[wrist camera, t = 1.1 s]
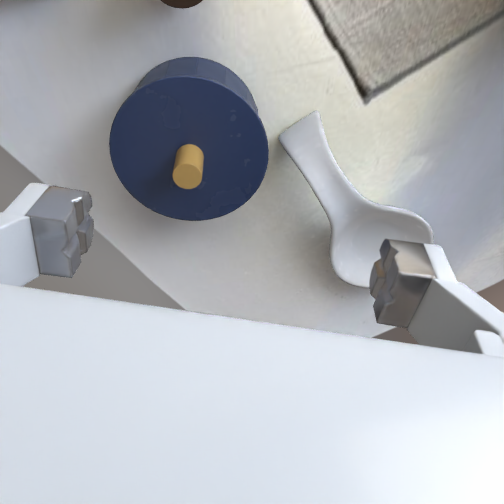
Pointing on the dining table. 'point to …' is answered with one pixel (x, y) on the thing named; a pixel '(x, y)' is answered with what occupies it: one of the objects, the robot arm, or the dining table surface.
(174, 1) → the cylinder
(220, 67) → the tin
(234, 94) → the tin lid
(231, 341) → the robot arm
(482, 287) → the dining table surface
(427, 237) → the spoon rest
